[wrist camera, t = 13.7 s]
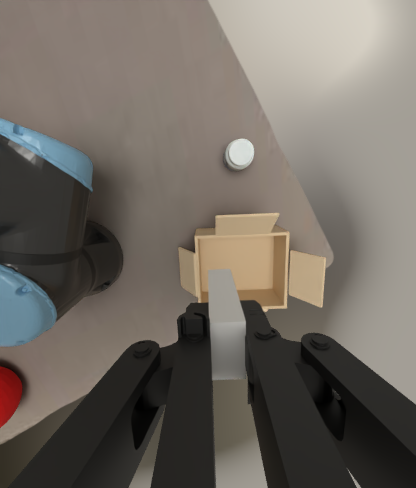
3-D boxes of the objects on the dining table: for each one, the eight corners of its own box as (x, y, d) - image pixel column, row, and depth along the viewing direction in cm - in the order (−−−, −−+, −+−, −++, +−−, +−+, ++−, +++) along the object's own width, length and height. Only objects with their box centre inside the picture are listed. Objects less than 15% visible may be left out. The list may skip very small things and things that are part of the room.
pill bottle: (227, 141, 44) (232, 131, 36) (251, 150, 45) (261, 141, 37) (219, 167, 45) (222, 162, 37) (242, 175, 46) (250, 172, 38)
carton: (199, 293, 51) (198, 312, 43) (196, 228, 48) (194, 235, 40) (274, 290, 51) (286, 308, 43) (276, 225, 48) (289, 232, 40)
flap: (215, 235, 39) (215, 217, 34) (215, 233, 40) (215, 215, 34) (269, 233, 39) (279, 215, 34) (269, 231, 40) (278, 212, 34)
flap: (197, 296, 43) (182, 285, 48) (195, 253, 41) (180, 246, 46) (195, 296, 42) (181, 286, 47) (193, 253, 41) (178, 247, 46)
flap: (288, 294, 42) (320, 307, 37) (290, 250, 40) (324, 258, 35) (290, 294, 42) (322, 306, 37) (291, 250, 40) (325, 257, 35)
